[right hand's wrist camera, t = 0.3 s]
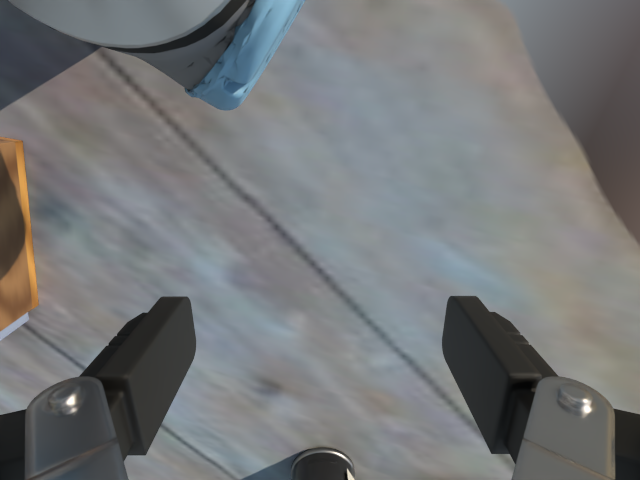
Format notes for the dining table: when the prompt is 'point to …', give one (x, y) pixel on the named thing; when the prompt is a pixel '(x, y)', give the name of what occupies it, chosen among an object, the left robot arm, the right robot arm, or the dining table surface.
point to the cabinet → (15, 237)
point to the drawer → (14, 326)
